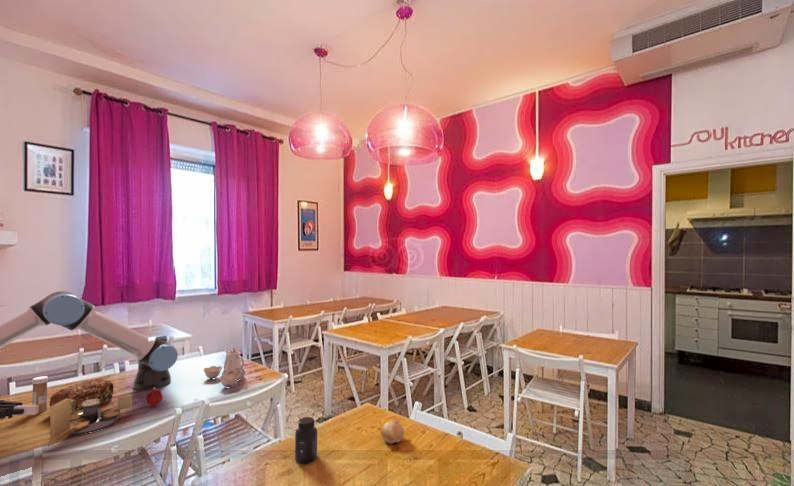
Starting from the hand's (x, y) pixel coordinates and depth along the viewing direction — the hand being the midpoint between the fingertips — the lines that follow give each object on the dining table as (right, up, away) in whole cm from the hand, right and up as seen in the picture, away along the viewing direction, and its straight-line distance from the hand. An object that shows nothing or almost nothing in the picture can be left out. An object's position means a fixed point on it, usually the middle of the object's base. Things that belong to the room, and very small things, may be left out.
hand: (36, 409), depth 128 cm
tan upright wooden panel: (+9, -9, +3) cm, 13 cm away
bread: (-7, -12, +28) cm, 31 cm away
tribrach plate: (+9, -11, +14) cm, 20 cm away
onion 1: (+22, -12, +28) cm, 38 cm away
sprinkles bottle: (-21, -11, +24) cm, 34 cm away
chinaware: (+39, -12, +59) cm, 71 cm away
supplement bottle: (+94, -12, -9) cm, 95 cm away
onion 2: (+121, -12, +2) cm, 122 cm away
